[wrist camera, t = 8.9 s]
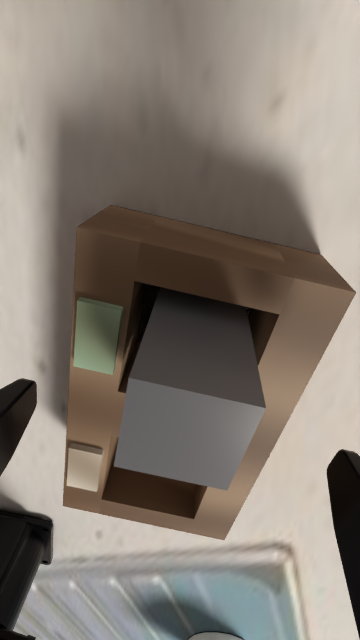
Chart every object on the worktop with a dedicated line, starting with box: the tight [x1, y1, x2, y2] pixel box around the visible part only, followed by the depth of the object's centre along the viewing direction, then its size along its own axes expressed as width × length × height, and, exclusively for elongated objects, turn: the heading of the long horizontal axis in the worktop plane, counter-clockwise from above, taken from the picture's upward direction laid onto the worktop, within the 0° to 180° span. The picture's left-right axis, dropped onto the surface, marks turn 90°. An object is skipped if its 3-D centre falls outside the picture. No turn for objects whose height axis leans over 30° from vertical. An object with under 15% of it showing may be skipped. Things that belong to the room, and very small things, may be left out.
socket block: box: [63, 205, 356, 540], centre depth 16 cm, size 16×9×4 cm, turn 168°
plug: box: [114, 287, 266, 491], centre depth 13 cm, size 4×4×8 cm
